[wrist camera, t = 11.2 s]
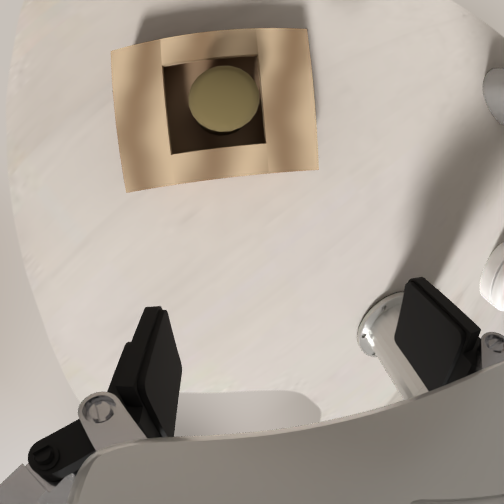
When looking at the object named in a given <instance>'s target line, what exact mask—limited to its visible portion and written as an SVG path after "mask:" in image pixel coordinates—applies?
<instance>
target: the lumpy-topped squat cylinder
mask: <svg viewBox="0 0 504 504" xmlns="http://www.w3.org/2000/svg"><path fill="white" fill-rule="evenodd" d="M483 94H484V98H485V101H486V103H487V106H488V108H489V110H490V112H491V113H492V115H493V116H494V117H495V119H496V120H497V121H498V122H499V123H500V124H502V125H504V68H493V69H491V70H490V71H489V72H488V73H487V74H486V76H485V78H484V82H483Z"/></svg>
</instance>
